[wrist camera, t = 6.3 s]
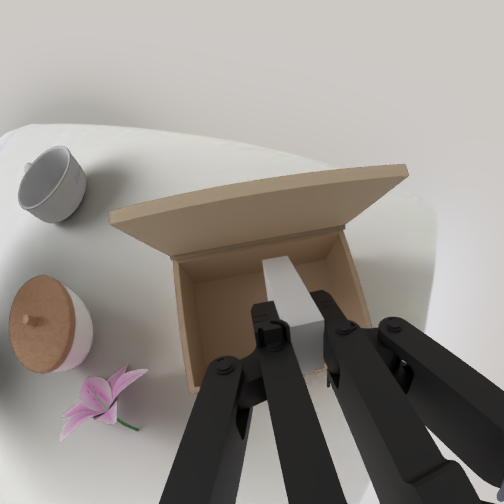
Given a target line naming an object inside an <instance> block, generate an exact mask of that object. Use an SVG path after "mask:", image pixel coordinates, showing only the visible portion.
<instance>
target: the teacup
mask: <svg viewBox="0 0 504 504" xmlns="http://www.w3.org/2000/svg"><path fill="white" fill-rule="evenodd" d="M24 171H25V175H24V177H23V179H22V181H21V183H20V187H19V191H18V201H19V204H20V206H21V207H22V208H23V209H25V210H27V211H29V212H30V213H31V214H33V215H34V216H35V217H37V218H39V219H40V220H42V221H44V222H47V223H57V222H60V221H63V220H64V219H66V218H67V217H69V216H70V215H71V214H72V213H74V212H75V210H76V209H77V208H78V206H79V205H80V203H81V201H82V199H83V196H84V193H85V190H86V177H85V174H84V171H83V170H82V168H81V166H80V165H79V164H78V162H77V161H76V160H75V158H74V157H73V156H72V155H71V154H70V151H69V150H68V148H66V147H65V146H55V147H52V148H50V149H48V150H46V151H45V152H44V153H42V154H41V155H40V156H39V157H38V158H37V159H36V160H35V161H34V162H33V163H32V164H31V163H27V164H26V165H25V167H24Z"/></svg>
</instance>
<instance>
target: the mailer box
mask: <svg viewBox="0 0 504 504" xmlns="http://www.w3.org/2000/svg"><path fill="white" fill-rule="evenodd" d="M282 256H288V257H289V259H290V261H291V263H292V264H293V266H294V268H295V269H296V271H297V273H298V275H299V276H300V278H301V280H302V282H303V283H304V285H305V287H306V288H307V290H308V292H313V291H318V290H324V291H326V292H328V293H330V295H331V296H332V297H333V299H334V300H335V302H336V303H337V305H338V306H339V308H340V309H341V311H342V312H343V314H344V315H345V316H346V318H347V319H348V320H351V321H354V322H356V323H357V324H358V325H359V326H360V328H372V325H371V321H370V317H369V313H368V309H367V306H366V302H365V299H364V295H363V292H362V288H361V285H360V281H359V278H358V275H357V271H356V268H355V265H354V262H353V259H352V256H351V253H350V250H349V247H348V244H347V241H346V238H345V235H344V232H343V230H338V231H333V232H327V233H321V234H316V235H310V236H305V237H299V238H293V239H288V240H282V241H277V242H271V243H265V244H260V245H254V246H249V247H243V248H238V249H232V250H227V251H221V252H216V253H210V254H205V255H199V256H194V257H189V258H183V259H178V260H173V269H174V281H175V291H176V301H177V310H178V319H179V327H180V335H181V342H182V350H183V356H184V363H185V369H186V376H187V382H188V387H189V393H198V392H199V389H200V387H201V384H202V381H203V378H204V375H205V373H206V370H207V367H208V365H209V364H210V362H212V361H213V360H214V359H216V358H219V357H221V356H234V357H236V358H238V359H239V360H240V359H242V358H245V357H247V356H248V355H250V354H251V353H252V352H253V351H254V350H255V348H256V339H255V334H254V328H253V322H252V317H251V311H250V310H251V308H252V306H253V304H257V303H262V302H268V297H267V291H266V284H265V277H264V270H263V264H262V260H265V259H271V258H276V257H282ZM325 369H327V365H326V363H325V361H324V368H323V369H319V370H315V371H311V372H307V373H303V374H302V375H305V374H309V373H313V372H317V371H321V370H325Z"/></svg>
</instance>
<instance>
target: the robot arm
mask: <svg viewBox="0 0 504 504" xmlns="http://www.w3.org/2000/svg"><path fill="white" fill-rule="evenodd" d="M262 264H263V270H264V277H265V284H266V291H267V297H268V302H262V303H257V304H253V306H252V308H251V310H250V311H251V317H252V322H253V328H254V334H255V339H256V348H255V350H254V351H253V352H252V353H251V354H250V355H248V356H247V357H245V358H242V359H240V360H239V359H238V358H236V357H234V356H221V357H219V358H216V359H214V360H213V361H212V362H210V364H209V365H208V367H207V370H206V373H205V375H204V378H203V381H202V384H201V387H200V389H199V392H198V395H197V398H196V401H195V403H194V406H193V409H192V412H191V415H190V417H189V420H188V423H187V426H186V429H185V431H184V434H183V437H182V440H181V443H180V445H179V448H178V451H177V454H176V457H175V459H174V462H173V465H172V468H171V471H170V474H169V476H168V479H167V482H166V485H165V488H164V491H163V493H162V496H161V499H160V502H159V504H235V502H236V497H237V492H238V487H239V482H240V477H241V471H242V466H243V461H244V456H245V450H246V445H247V439H248V434H249V428H250V422H251V417H252V411H253V406H255V405H257V404H259V403H261V402H263V401H266V400H267V401H268V406H269V411H270V416H271V420H272V425H273V430H274V435H275V440H276V445H277V450H278V455H279V459H280V464H281V469H282V474H283V478H284V483H285V488H286V493H287V497H288V502H289V504H347V502H346V499H345V496H344V493H343V490H342V487H341V485H340V482H339V479H338V476H337V473H336V470H335V467H334V464H333V461H332V458H331V455H330V452H329V449H328V447H327V444H326V441H325V438H324V435H323V432H322V429H321V426H320V423H319V420H318V418H317V415H316V412H315V409H314V406H313V403H312V400H311V397H310V395H309V392H308V389H307V386H306V383H305V380H304V377H303V375H302V374H303V373H307V372H311V371H315V370H319V369H323V368H324V361H325V363H326V365H327V388H328V387H330V383H331V385H332V388H333V390H334V392H335V395H336V397H337V399H338V402H339V404H340V406H341V409H342V411H343V413H344V416H345V418H346V421H347V423H348V425H349V428H350V430H351V433H352V435H353V437H354V440H355V442H356V445H357V447H358V449H359V452H360V454H361V457H362V459H363V462H364V464H365V467H366V469H367V472H368V474H369V477H370V479H371V481H372V484H373V487H374V489H375V491H376V494H377V497H378V499H379V502H380V504H494V503H490V502H485V501H482V500H480V499H479V497H478V495H477V493H476V491H475V489H474V487H473V486H472V484H471V482H470V480H469V479H468V477H467V475H466V473H465V471H464V470H463V468H462V467H461V465H460V464H459V463H458V462H456V461H454V460H447V459H445V458H444V457H443V456H442V454H441V452H440V450H439V449H438V447H437V445H436V444H435V442H434V440H433V439H432V437H431V435H430V434H429V432H428V430H427V429H426V427H427V428H428V429H429V430H430V431H431V432H432V433H434V434H435V435H436V436H437V437H438V438H439V439H440V440H441V441H442V442H443V443H444V444H445V445H446V446H447V447H448V448H449V449H450V450H451V451H452V452H453V453H455V454H456V455H457V456H458V457H459V458H460V459H461V460H462V461H463V462H464V463H465V464H466V465H467V466H468V467H469V468H470V469H471V470H473V472H475V473H476V474H477V475H478V476H479V477H480V478H482V479H483V480H484V481H486V482H487V483H489V484H491V485H493V486H495V487H498V488H500V490H499V491H498V493H497V500H498V501H500V502H502V501H504V391H503V390H501V389H500V388H499V387H498V386H496V385H495V384H494V383H492V382H491V381H490V380H488V379H487V378H486V377H484V376H483V375H482V374H480V373H479V372H477V371H476V370H475V369H473V368H472V367H471V366H469V365H468V364H466V363H465V362H464V361H462V360H461V359H460V358H458V357H457V356H455V355H454V354H452V353H451V352H450V351H448V350H447V349H446V348H444V347H443V346H441V345H440V344H439V343H437V342H436V341H434V340H433V339H432V338H430V337H429V336H427V335H426V334H424V333H423V332H421V331H420V330H419V329H417V328H416V327H414V326H413V325H411V324H410V323H408V322H407V321H406V320H404V319H402V318H399V317H388V318H385V319H383V320H382V321H381V322H380V324H379V327H378V328H360V326H359V325H358V324H357V323H356V322H354V321H351V320H348V319H347V318H346V316H345V315H344V314H343V312H342V311H341V309H340V308H339V306H338V305H337V303H336V302H335V300H334V299H333V297H332V296H331V295H330V293H328V292H326V291H324V290H318V291H313V292H308V290H307V288H306V287H305V285H304V283H303V282H302V280H301V278H300V276H299V275H298V273H297V271H296V269H295V268H294V266H293V264H292V263H291V261H290V259H289V257H288V256H282V257H276V258H271V259H265V260H262ZM402 360H403V361H404V362H406V363H404V362H403V361H402ZM425 426H426V427H425Z"/></svg>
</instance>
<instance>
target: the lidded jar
mask: <svg viewBox="0 0 504 504" xmlns="http://www.w3.org/2000/svg"><path fill="white" fill-rule="evenodd" d="M9 335H10V340H11V344H12V348H13V350H14V352H15V354H16V356H17V358H18V360H19V361H20V362H21V363H22V365H24V366H25V367H26V368H27V369H29V370H30V371H33V372H37V373H60V372H66V371H69V370H71V369H74V368H75V367H77V366H78V365H79V364H81V363H82V362H83V361H84V359H85V358H86V357H87V355H88V353H89V351H90V349H91V346H92V341H93V324H92V320H91V316H90V314H89V311H88V309H87V308H86V306H85V304H84V303H83V301H82V300H81V299H80V298H79V297H78V296H77V295H76V294H75V293H74V292H73V291H71V290H70V289H69V288H67V287H66V286H64V285H62V284H61V283H60V282H59V281H57V280H56V279H54V278H52V277H50V276H46V275H41V276H36V277H34V278H32V279H30V280H29V281H27V282H26V283H25V284H24V285H23V286H22V287H21V289H20V290H19V292H18V293H17V295H16V297H15V299H14V302H13V304H12V307H11V312H10V318H9Z"/></svg>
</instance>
